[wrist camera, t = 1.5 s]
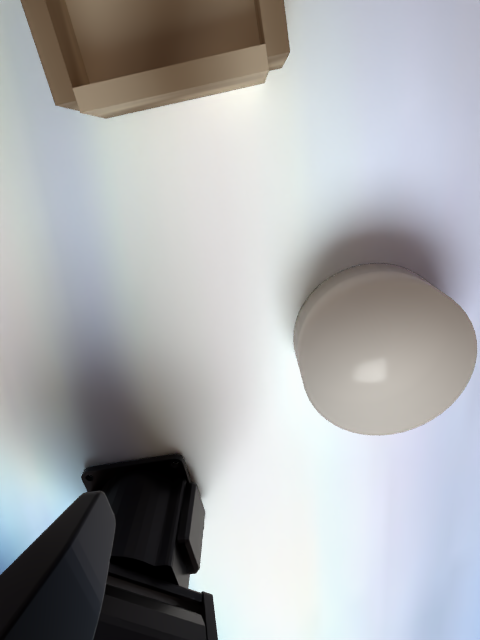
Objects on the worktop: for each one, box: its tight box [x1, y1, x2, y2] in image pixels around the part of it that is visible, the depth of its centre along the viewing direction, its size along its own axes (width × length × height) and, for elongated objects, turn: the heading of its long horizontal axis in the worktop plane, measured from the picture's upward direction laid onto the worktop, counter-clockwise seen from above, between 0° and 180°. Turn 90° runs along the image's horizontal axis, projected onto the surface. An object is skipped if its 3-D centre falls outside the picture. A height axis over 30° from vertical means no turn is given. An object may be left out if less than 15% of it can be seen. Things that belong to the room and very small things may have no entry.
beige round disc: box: [293, 263, 477, 435], centre depth 20 cm, size 8×8×4 cm
